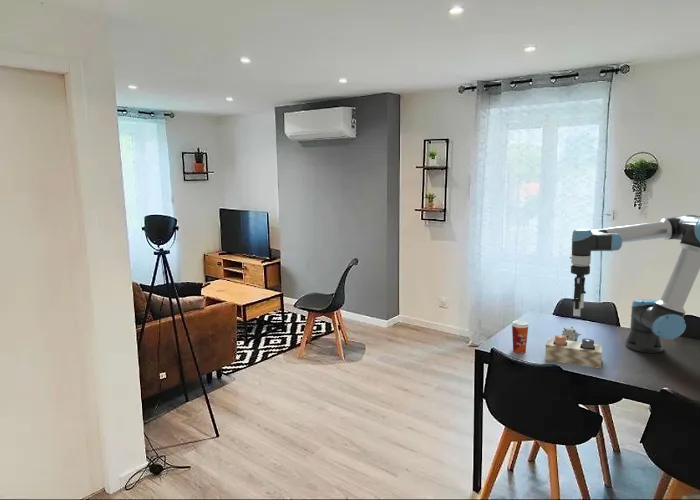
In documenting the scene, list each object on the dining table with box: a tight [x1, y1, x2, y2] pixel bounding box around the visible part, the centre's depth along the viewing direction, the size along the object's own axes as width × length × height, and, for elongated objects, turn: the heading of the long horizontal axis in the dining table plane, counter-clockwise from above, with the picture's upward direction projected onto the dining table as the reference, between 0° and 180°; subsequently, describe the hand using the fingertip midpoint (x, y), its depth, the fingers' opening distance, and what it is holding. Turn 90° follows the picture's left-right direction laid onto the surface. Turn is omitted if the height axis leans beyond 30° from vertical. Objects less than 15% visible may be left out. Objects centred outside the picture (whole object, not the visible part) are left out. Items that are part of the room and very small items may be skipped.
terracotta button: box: [554, 334, 566, 346], centre depth 209 cm, size 5×5×6 cm
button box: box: [544, 337, 603, 369], centre depth 207 cm, size 22×10×7 cm, turn 61°
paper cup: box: [510, 319, 530, 354], centre depth 219 cm, size 8×8×14 cm
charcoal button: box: [581, 338, 595, 350], centre depth 204 cm, size 5×5×6 cm
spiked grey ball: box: [561, 326, 581, 342], centre depth 227 cm, size 9×8×10 cm
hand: (578, 311), depth 207 cm, fingers open, 13 cm apart
